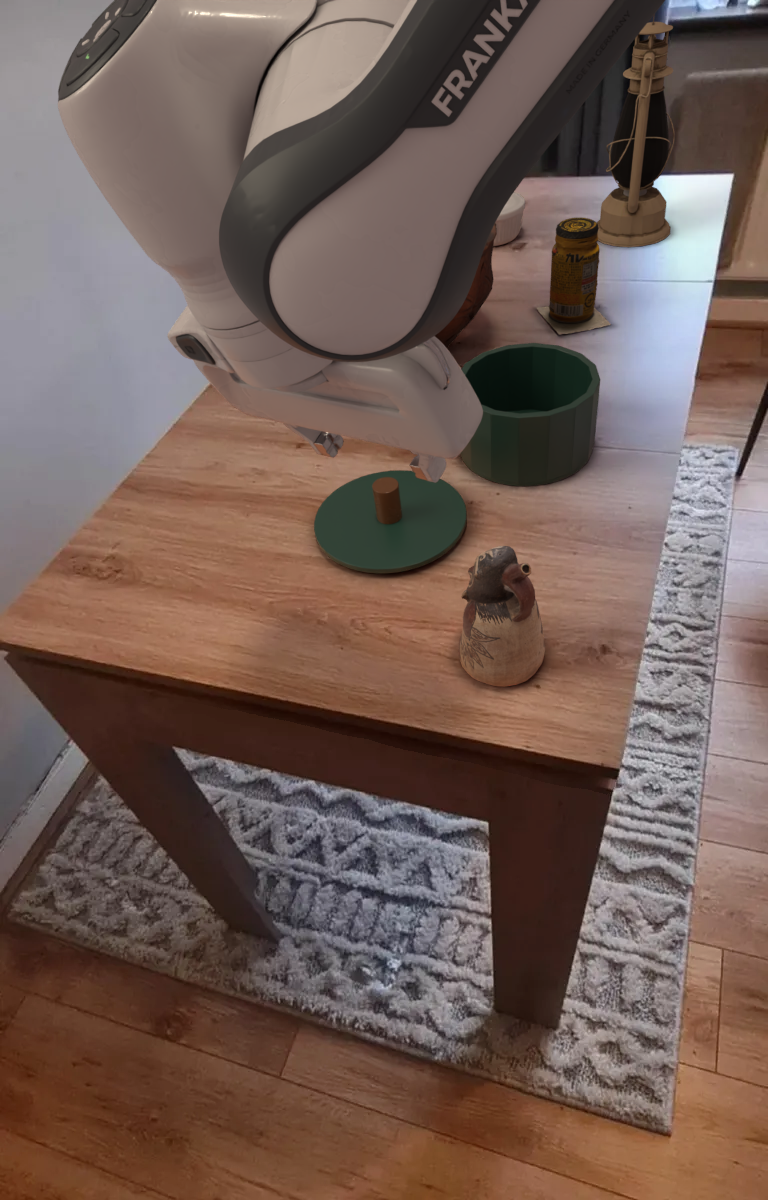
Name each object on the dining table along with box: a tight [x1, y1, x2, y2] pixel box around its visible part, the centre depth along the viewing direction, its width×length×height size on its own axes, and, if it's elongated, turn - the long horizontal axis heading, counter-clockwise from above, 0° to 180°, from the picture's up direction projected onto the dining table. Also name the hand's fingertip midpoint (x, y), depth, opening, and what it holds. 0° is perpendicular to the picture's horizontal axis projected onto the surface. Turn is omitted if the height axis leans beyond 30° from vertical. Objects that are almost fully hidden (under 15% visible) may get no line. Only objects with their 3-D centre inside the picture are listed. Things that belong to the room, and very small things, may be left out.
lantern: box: [596, 13, 675, 248], centre depth 115 cm, size 14×12×30 cm
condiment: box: [536, 217, 612, 335], centre depth 104 cm, size 7×8×12 cm
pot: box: [459, 342, 601, 487], centre depth 86 cm, size 15×15×8 cm
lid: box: [313, 469, 468, 574], centre depth 80 cm, size 16×16×5 cm
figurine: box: [458, 545, 546, 688], centre depth 64 cm, size 7×7×12 cm
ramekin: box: [493, 191, 526, 247], centre depth 129 cm, size 11×11×5 cm
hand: (380, 460), depth 57 cm, fingers open, 8 cm apart
